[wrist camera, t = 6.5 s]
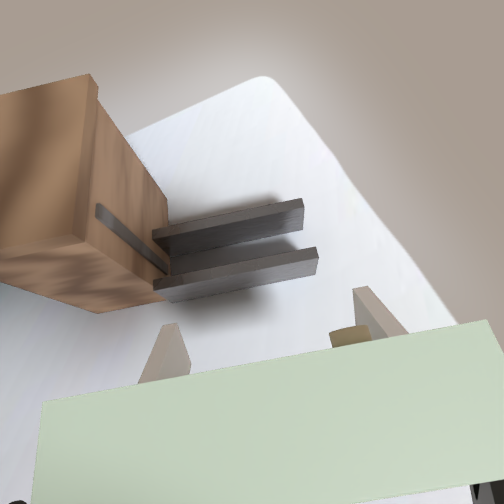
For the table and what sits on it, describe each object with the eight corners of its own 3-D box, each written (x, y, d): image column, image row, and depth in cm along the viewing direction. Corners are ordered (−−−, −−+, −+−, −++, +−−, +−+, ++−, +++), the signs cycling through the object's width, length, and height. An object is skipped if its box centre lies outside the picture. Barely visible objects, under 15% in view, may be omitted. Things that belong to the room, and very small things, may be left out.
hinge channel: (172, 303, 33) (153, 291, 28) (169, 248, 36) (151, 229, 31) (315, 274, 32) (318, 257, 28) (300, 221, 35) (301, 197, 30)
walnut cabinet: (93, 318, 33) (-83, 266, 18) (100, 210, 40) (-26, 101, 24) (176, 302, 33) (71, 233, 17) (170, 195, 39) (89, 73, 23)
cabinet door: (218, 423, 19) (24, 557, 5) (213, 370, 20) (47, 360, 6) (357, 398, 18) (561, 469, 5) (342, 346, 20) (466, 279, 6)
